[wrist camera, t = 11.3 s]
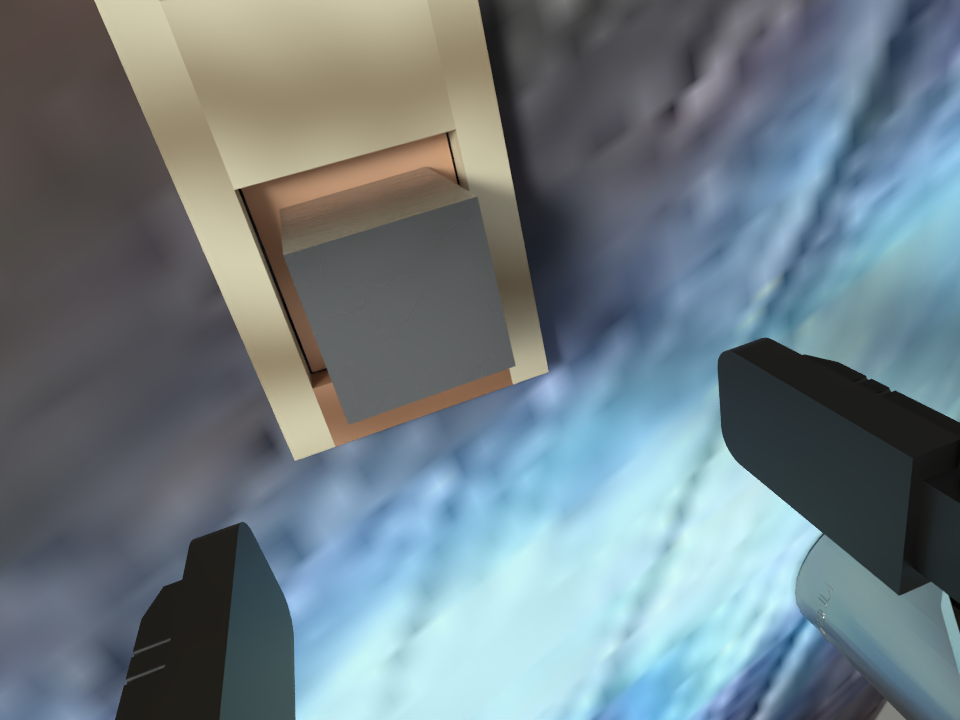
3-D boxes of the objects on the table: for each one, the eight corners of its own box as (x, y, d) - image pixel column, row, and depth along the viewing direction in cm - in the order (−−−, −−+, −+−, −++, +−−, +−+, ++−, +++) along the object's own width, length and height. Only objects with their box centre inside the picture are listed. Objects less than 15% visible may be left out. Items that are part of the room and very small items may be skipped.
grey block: (426, 166, 21) (477, 196, 16) (461, 301, 24) (516, 366, 18) (279, 209, 21) (283, 255, 15) (330, 344, 23) (348, 424, 18)
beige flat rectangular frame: (-111, -496, 13) (-144, -545, 12) (359, -536, 15) (367, -583, 14) (293, 444, 24) (294, 460, 23) (537, 359, 26) (548, 371, 25)
